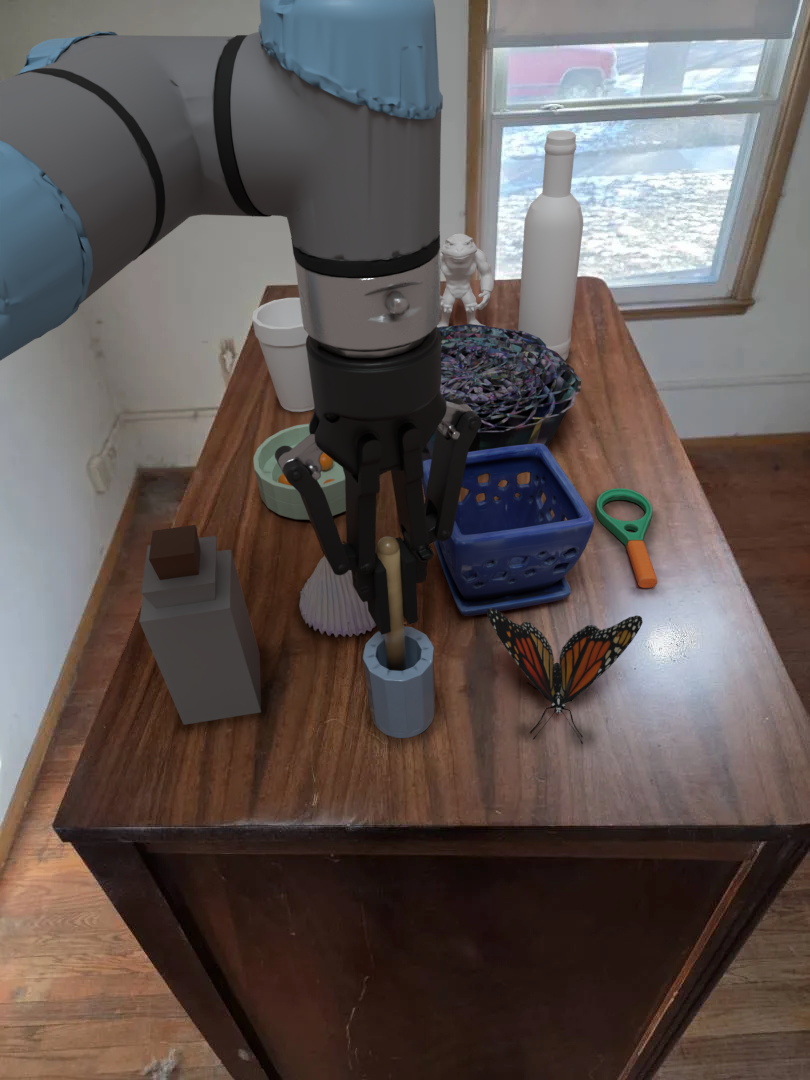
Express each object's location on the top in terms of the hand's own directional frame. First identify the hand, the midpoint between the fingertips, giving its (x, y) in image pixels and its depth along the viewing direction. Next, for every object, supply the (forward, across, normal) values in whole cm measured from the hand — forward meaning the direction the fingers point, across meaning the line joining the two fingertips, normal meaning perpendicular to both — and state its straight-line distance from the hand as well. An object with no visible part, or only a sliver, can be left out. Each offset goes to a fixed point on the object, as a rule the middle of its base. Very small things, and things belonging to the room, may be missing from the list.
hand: (392, 615), depth 56 cm
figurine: (+13, +38, +62) cm, 74 cm away
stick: (+10, 0, 0) cm, 10 cm away
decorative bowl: (+12, +26, +37) cm, 47 cm away
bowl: (+12, +4, +34) cm, 36 cm away
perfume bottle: (+13, -14, +9) cm, 21 cm away
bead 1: (+11, 0, +34) cm, 36 cm away
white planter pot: (+13, +8, +54) cm, 56 cm away
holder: (+12, 0, 0) cm, 12 cm away
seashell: (+13, +1, +15) cm, 19 cm away
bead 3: (+11, +5, +31) cm, 33 cm away
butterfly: (+12, +12, -5) cm, 18 cm away
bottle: (+12, +45, +49) cm, 68 cm away
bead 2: (+11, +6, +36) cm, 38 cm away
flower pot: (+12, +16, +10) cm, 23 cm away
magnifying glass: (+12, +31, +9) cm, 35 cm away
